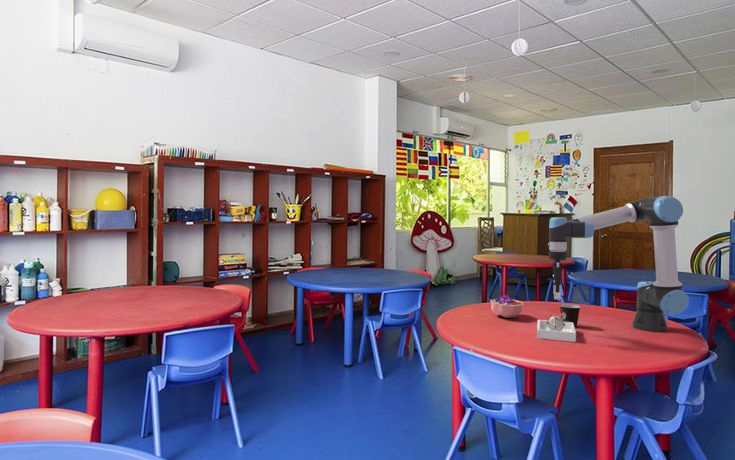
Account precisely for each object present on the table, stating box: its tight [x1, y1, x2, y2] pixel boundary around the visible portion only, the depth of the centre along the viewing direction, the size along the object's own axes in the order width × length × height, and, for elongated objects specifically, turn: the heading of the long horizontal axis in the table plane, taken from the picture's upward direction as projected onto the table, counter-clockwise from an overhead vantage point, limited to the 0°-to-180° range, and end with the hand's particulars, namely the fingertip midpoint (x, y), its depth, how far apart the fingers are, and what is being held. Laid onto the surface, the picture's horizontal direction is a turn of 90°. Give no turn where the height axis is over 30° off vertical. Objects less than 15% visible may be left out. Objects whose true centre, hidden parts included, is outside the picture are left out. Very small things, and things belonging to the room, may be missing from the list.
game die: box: [546, 314, 566, 331], centre depth 226 cm, size 9×8×10 cm
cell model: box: [489, 294, 524, 319], centre depth 262 cm, size 17×20×11 cm
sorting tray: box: [536, 319, 577, 343], centre depth 226 cm, size 16×21×4 cm
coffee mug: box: [559, 303, 581, 329], centre depth 244 cm, size 12×9×10 cm
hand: (556, 296), depth 226 cm, fingers open, 13 cm apart
